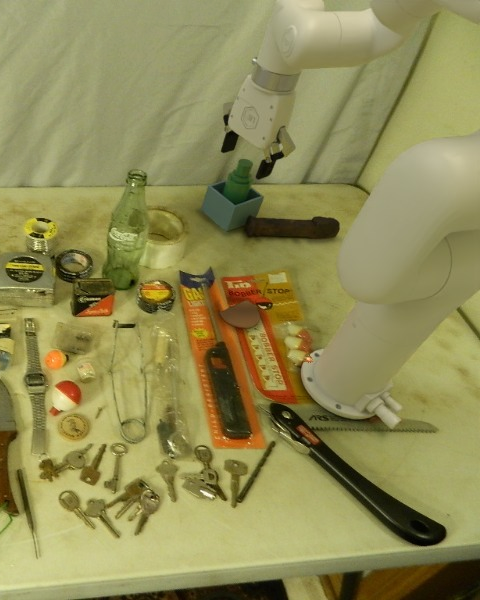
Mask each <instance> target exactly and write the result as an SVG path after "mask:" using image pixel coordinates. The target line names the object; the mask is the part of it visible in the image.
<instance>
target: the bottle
mask: <svg viewBox="0 0 480 600" xmlns="http://www.w3.org/2000/svg"><path fill="white" fill-rule="evenodd" d="M253 167H254V163H253V161H252V160H251V159H248V158H240V159H239V160H238V161H237V165H236V168H235V169H233V170H232V171H230V172H229V173H228V174H227V177H226V179H225V180H226V182H225V186H224V189H223V192H222V195H223V196H224V197H225V198H227V199H228V200H229V201H230V202H232V203H233V204H234V205H238V204H240V203H243V202H246V200H247V197H248V195H249V192H250V189H251V187H252V186H253V184H254V179H253V177H252V176H253V175H252V169H253Z"/></svg>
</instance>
